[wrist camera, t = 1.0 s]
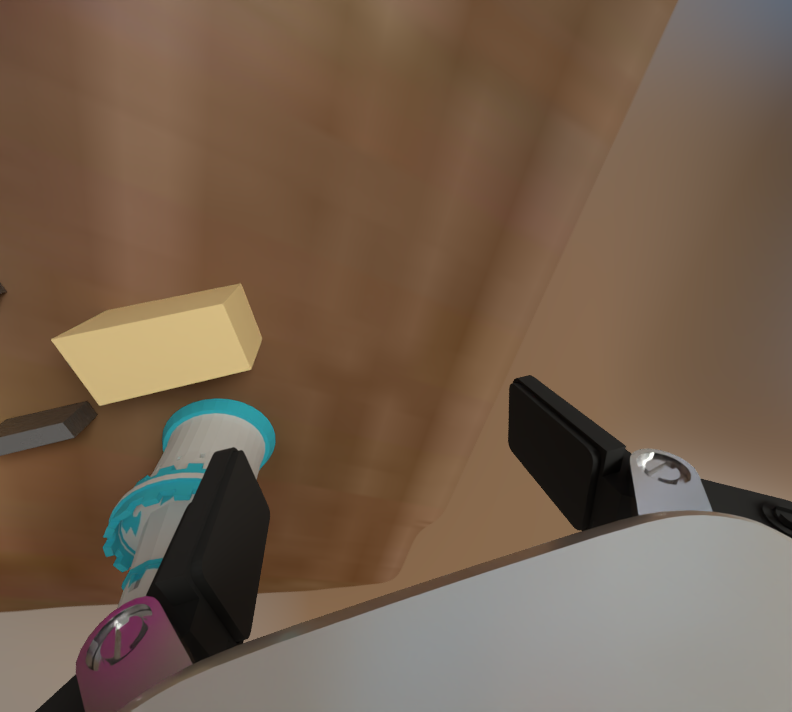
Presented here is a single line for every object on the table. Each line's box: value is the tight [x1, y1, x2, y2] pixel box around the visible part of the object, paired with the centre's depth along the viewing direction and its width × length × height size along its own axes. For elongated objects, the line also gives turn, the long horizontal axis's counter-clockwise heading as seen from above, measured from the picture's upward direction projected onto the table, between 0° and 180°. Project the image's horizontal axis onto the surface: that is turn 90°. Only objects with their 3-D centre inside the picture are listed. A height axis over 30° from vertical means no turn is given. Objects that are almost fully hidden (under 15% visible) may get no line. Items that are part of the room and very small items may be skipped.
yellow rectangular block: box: [51, 284, 262, 406], centre depth 23 cm, size 5×12×6 cm, turn 99°
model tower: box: [103, 399, 275, 608], centre depth 18 cm, size 10×10×30 cm
